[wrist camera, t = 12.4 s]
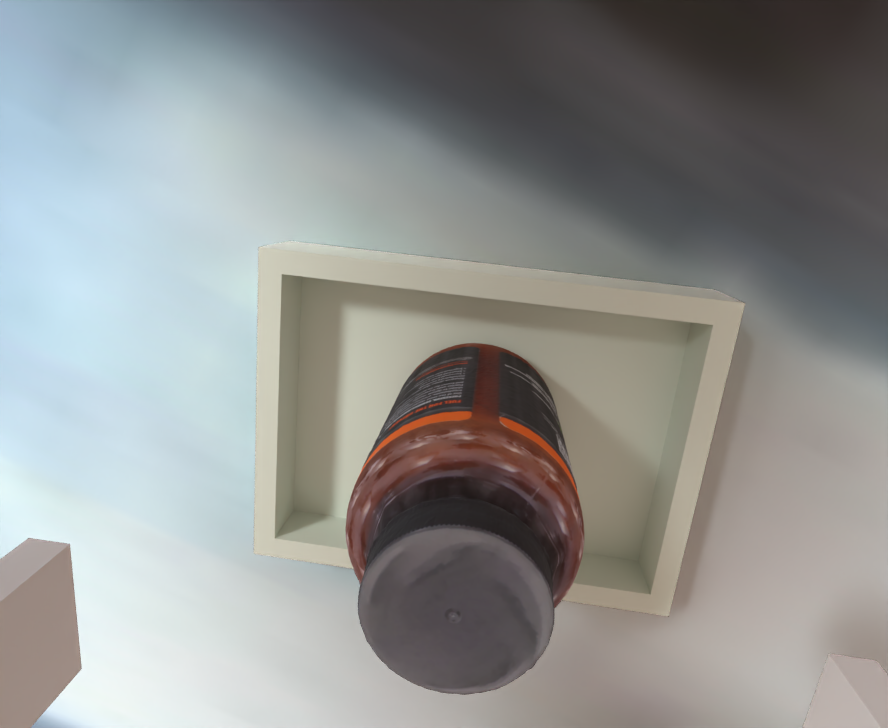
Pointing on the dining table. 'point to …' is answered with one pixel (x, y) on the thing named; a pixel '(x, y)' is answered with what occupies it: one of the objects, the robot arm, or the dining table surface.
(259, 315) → the tray
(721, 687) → the dining table surface
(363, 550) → the supplement bottle
